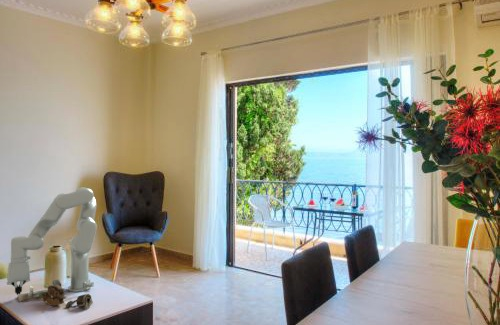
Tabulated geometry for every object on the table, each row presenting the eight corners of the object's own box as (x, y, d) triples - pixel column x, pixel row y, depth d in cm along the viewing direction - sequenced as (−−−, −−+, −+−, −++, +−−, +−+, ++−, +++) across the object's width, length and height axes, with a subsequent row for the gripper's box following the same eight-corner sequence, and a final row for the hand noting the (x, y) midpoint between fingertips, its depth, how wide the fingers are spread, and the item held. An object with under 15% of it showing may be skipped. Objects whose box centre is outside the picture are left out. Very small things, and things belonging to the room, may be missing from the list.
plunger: (31, 298, 191) (31, 290, 191) (29, 293, 198) (29, 285, 198) (33, 297, 192) (33, 289, 192) (32, 293, 199) (32, 285, 199)
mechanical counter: (78, 303, 175) (95, 292, 184) (61, 296, 181) (78, 286, 190) (80, 315, 177) (97, 304, 186) (63, 308, 183) (80, 298, 191)
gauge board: (19, 302, 189) (19, 291, 189) (17, 297, 197) (17, 286, 197) (61, 294, 201) (61, 284, 201) (58, 289, 209) (58, 279, 209)
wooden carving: (38, 304, 187) (38, 285, 187) (45, 301, 191) (46, 282, 191) (61, 309, 181) (62, 289, 181) (69, 305, 185) (69, 286, 185)
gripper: (34, 256, 200) (33, 289, 200) (2, 260, 191) (1, 294, 191) (35, 259, 194) (35, 293, 194) (2, 263, 185) (1, 298, 185)
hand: (18, 293), depth 193 cm, fingers closed
